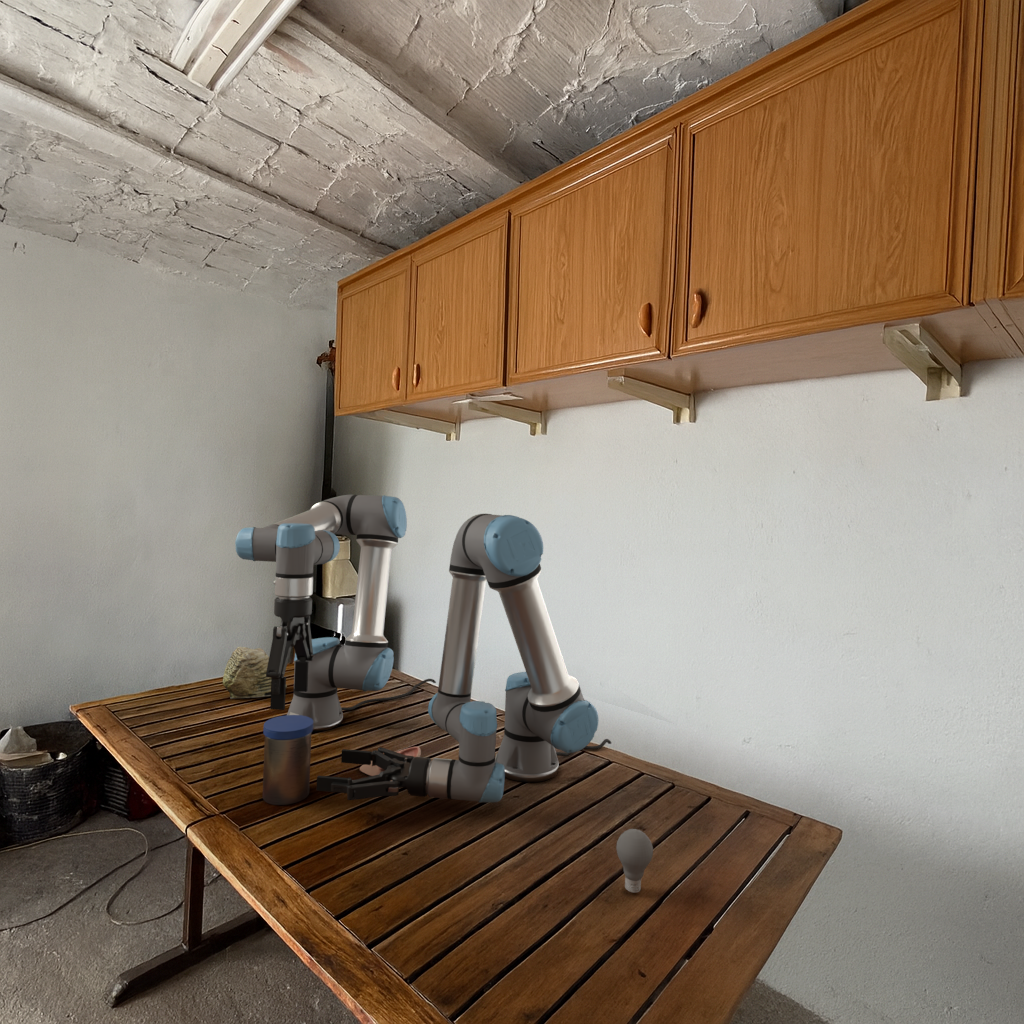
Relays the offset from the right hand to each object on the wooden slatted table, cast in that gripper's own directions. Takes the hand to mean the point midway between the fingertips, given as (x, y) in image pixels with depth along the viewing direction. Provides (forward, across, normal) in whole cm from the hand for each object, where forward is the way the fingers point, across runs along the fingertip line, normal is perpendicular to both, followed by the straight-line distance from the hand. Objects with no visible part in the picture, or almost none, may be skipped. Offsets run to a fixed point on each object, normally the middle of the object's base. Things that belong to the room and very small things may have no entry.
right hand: (330, 768), depth 133 cm
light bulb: (-61, -22, -6) cm, 65 cm away
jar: (+9, 0, -6) cm, 11 cm away
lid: (+9, 0, +9) cm, 13 cm away
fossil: (+48, +61, -6) cm, 78 cm away
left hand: (+9, 0, +14) cm, 17 cm away
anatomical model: (-8, +17, -6) cm, 20 cm away
